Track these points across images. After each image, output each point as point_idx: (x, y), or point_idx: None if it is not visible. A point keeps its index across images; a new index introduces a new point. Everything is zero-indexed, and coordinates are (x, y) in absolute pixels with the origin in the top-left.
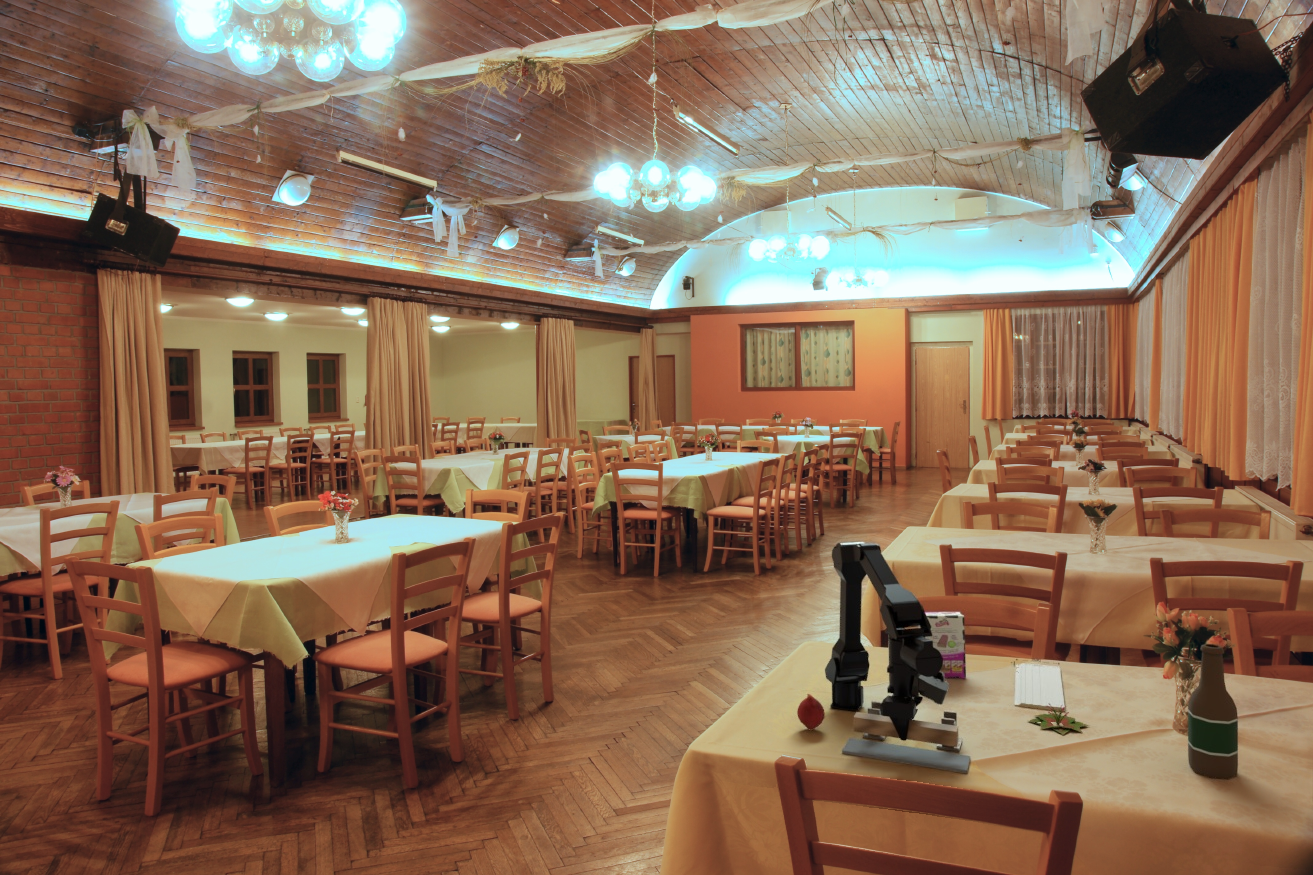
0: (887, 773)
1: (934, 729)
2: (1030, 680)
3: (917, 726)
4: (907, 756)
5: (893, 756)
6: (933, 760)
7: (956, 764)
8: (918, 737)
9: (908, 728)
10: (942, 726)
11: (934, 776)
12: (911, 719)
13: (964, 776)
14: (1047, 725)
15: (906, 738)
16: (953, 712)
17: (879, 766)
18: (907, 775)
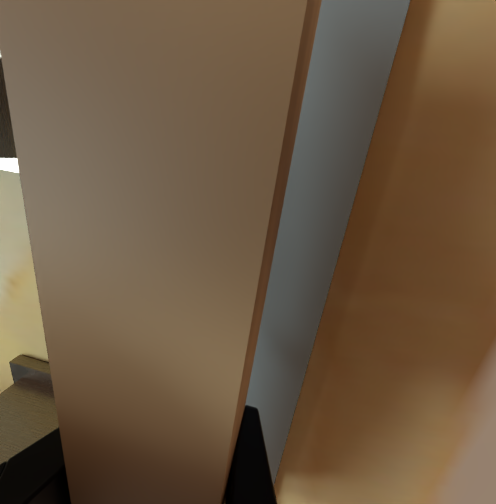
0: (433, 414)
1: (258, 285)
2: None
3: (226, 464)
4: (263, 331)
5: (276, 384)
6: (283, 212)
7: (319, 68)
8: (252, 361)
9: (234, 490)
10: (124, 151)
11: (464, 214)
12: (62, 468)
13: (460, 12)
14: None
15: (258, 419)
16: None
17: (360, 430)
18: (454, 342)
